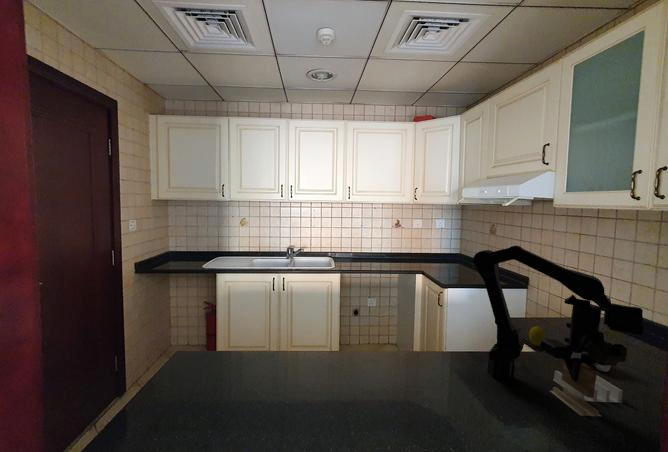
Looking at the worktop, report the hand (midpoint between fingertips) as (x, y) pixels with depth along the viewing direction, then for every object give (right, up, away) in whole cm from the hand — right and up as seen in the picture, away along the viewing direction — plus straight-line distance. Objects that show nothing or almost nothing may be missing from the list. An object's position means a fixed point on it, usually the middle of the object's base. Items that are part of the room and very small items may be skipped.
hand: (577, 381), depth 78 cm
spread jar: (+25, -8, +26) cm, 37 cm away
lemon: (+15, -6, +37) cm, 40 cm away
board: (0, -2, 0) cm, 2 cm away
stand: (-1, -7, 0) cm, 7 cm away
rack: (+8, -7, +7) cm, 13 cm away
